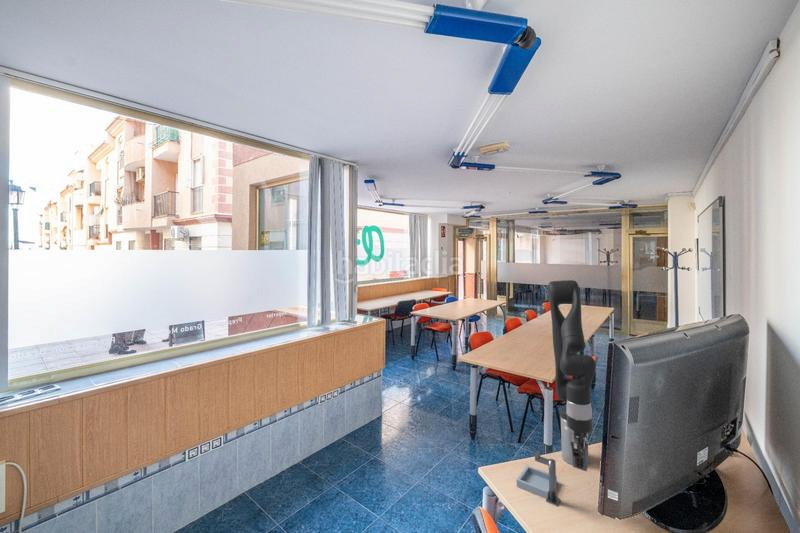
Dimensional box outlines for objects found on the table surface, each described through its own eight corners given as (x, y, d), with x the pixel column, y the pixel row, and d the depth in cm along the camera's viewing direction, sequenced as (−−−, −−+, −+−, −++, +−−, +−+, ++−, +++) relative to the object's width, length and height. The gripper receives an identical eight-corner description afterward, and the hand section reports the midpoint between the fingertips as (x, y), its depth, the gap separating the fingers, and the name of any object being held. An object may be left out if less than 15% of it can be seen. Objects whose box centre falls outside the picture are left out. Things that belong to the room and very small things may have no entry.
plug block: (575, 460, 114) (574, 435, 114) (588, 465, 112) (587, 438, 111) (572, 466, 111) (571, 440, 111) (586, 471, 108) (585, 444, 108)
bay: (527, 471, 130) (526, 465, 130) (556, 482, 123) (556, 476, 123) (516, 486, 122) (516, 479, 122) (548, 499, 115) (547, 492, 115)
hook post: (538, 491, 119) (537, 448, 119) (560, 500, 114) (558, 456, 114) (534, 496, 116) (533, 453, 116) (557, 506, 112) (555, 461, 111)
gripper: (571, 402, 118) (573, 449, 119) (561, 419, 108) (563, 470, 108) (595, 408, 114) (597, 457, 114) (587, 426, 103) (589, 479, 103)
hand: (580, 463), depth 111 cm, fingers closed on plug block, 4 cm apart
